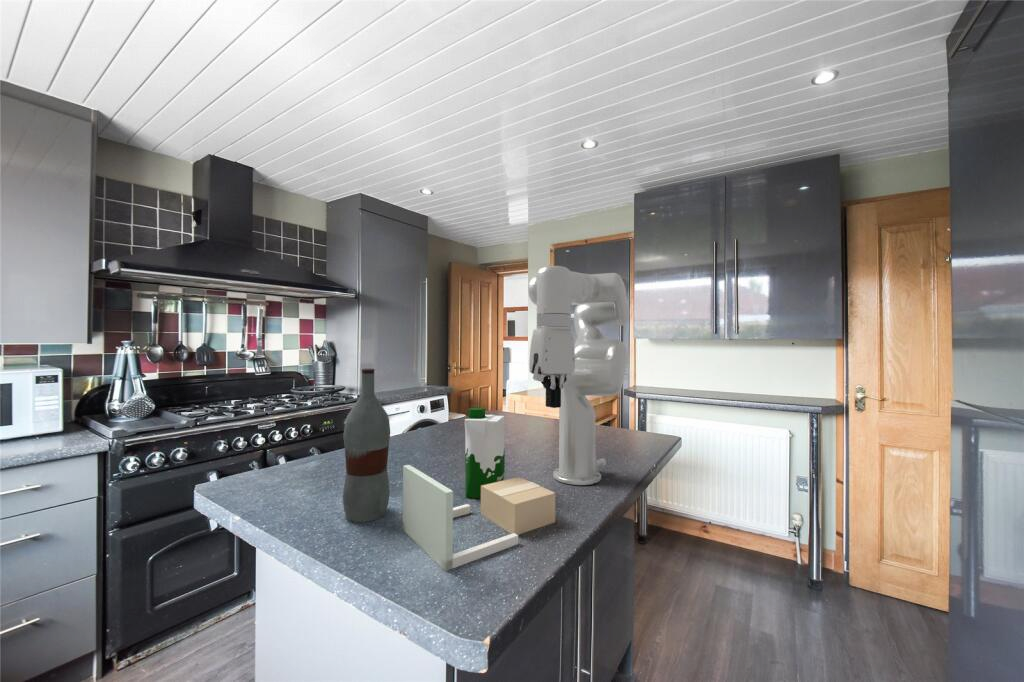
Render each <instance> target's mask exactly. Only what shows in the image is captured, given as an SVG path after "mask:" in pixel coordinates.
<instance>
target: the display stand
mask: <svg viewBox="0 0 1024 682" xmlns="http://www.w3.org/2000/svg"><path fill="white" fill-rule="evenodd" d="M469 514H471V505H470V504H469V503H465V504H462V505H459V506H454V491H453V490H452V489H450V488H449V487H447V486H445V485H444V484H442V483H440V482H439V481H437V480H435V479H434V478H432V477H430V476H429V475H427V474H425V473H424V472H423V471H421V470H419V469H417V468H415V467H413V466H412V465H411V464H405V465H403V467H402V530H403V531H404V533H406V535H408V536H409V537H410V538H411V539H412V540H413V541H414V542H415V543H416V545H418V546H419V547H420V548H421V549H422V551H424V552H425V553H426V554H427V555H428V556H430V558H431V559H432V560H433V561H434V562H435V563H436V564H438V565H439V567H441V568H442V570H444V571H445V572H448V571H450V570H453V569H455V568H458V567H460V566H463V565H466V564H468V563H471V562H473V561H476V560H479V559H482V558H484V557H487V556H490V555H493V554H495V553H498V552H501V551H503V550H505V549H509V548H511V547H514V546H517V545H519V535H517V534H515V533H512V534H511V533H509V534H507V535H503V536H502V537H498V538H496V539H493V540H489V541H487V542H484V543H481V544H479V545H476V546H472V547H470V548H467V549H463V550H461V551H458V552H456V553H453V551H454V544H453V541H454V537H453V536H454V523H453V522H454V518H458V517H462V516H464V515H469Z"/></svg>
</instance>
